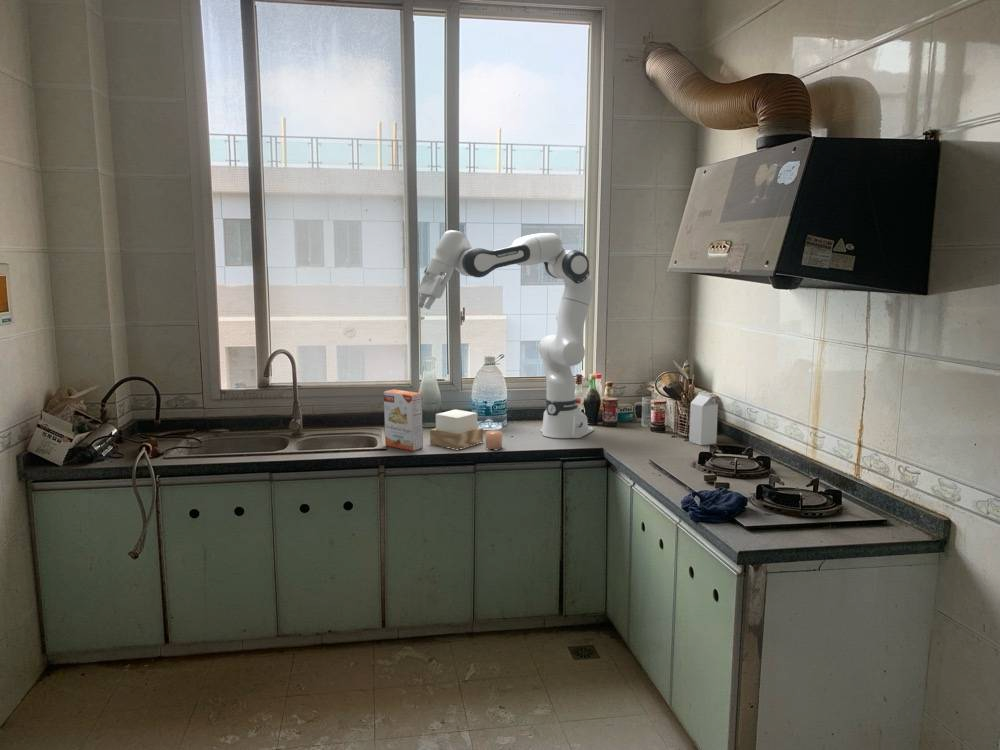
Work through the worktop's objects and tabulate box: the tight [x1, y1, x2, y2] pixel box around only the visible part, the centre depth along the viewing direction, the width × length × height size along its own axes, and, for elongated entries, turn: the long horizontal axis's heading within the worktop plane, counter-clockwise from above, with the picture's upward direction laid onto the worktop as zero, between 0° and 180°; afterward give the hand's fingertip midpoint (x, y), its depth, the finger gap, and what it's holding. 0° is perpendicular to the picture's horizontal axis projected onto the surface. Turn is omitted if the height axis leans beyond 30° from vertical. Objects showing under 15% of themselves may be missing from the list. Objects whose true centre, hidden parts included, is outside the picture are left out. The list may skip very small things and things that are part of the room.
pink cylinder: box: [485, 429, 503, 450], centre depth 271 cm, size 6×6×6 cm
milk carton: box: [688, 391, 719, 446], centre depth 276 cm, size 7×7×19 cm
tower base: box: [429, 426, 484, 449], centre depth 278 cm, size 14×14×6 cm
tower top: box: [435, 409, 478, 434], centre depth 277 cm, size 11×11×6 cm
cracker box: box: [383, 389, 424, 452], centre depth 272 cm, size 14×6×21 cm, turn 54°
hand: (423, 307), depth 263 cm, fingers open, 8 cm apart
